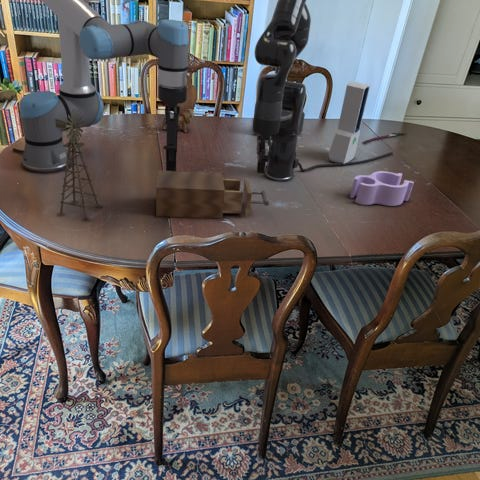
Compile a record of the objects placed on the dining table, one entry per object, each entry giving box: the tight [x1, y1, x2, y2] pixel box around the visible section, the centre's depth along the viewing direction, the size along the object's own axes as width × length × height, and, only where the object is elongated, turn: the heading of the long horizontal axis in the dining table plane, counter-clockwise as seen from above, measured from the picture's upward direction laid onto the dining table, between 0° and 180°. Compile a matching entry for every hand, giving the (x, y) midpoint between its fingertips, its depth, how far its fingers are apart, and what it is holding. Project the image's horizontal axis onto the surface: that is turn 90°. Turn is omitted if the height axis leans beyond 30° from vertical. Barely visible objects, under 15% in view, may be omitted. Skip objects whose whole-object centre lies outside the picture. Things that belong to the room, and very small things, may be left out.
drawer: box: [223, 177, 270, 217], centre depth 142 cm, size 24×10×8 cm, turn 95°
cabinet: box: [155, 170, 225, 219], centre depth 140 cm, size 20×11×10 cm, turn 95°
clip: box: [349, 170, 415, 207], centre depth 159 cm, size 20×12×7 cm, turn 109°
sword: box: [363, 132, 408, 145], centre depth 213 cm, size 31×3×1 cm, turn 126°
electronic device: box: [328, 80, 371, 164], centre depth 179 cm, size 12×8×30 cm, turn 148°
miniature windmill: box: [55, 109, 100, 220], centre depth 128 cm, size 9×8×30 cm
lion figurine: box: [159, 108, 195, 133], centre depth 195 cm, size 15×5×9 cm, turn 110°
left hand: (171, 160), depth 134 cm, fingers open, 13 cm apart
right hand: (260, 172), depth 139 cm, fingers closed
